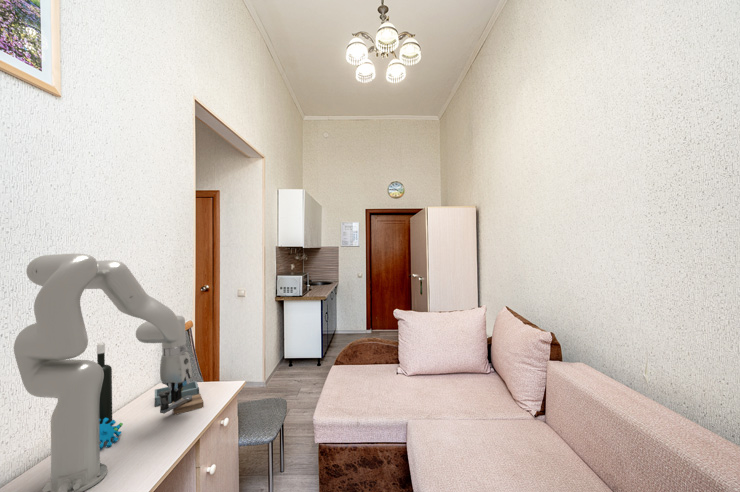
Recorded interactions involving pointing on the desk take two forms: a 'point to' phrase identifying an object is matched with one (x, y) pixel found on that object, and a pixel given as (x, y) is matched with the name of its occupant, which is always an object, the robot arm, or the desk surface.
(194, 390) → the tray
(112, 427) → the blue lobed piece
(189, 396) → the crank
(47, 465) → the desk surface
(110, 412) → the wine bottle
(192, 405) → the crank base
